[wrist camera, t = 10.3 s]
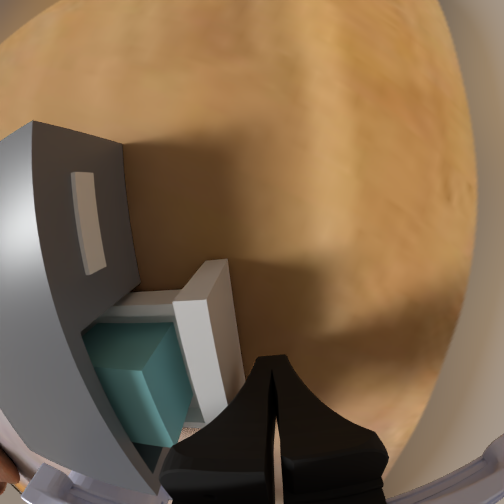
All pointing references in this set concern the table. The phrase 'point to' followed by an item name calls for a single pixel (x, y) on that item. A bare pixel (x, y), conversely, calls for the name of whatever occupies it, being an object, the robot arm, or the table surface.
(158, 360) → the teal block
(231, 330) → the tray
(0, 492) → the ceramic jug
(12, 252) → the player housing
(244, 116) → the table surface
